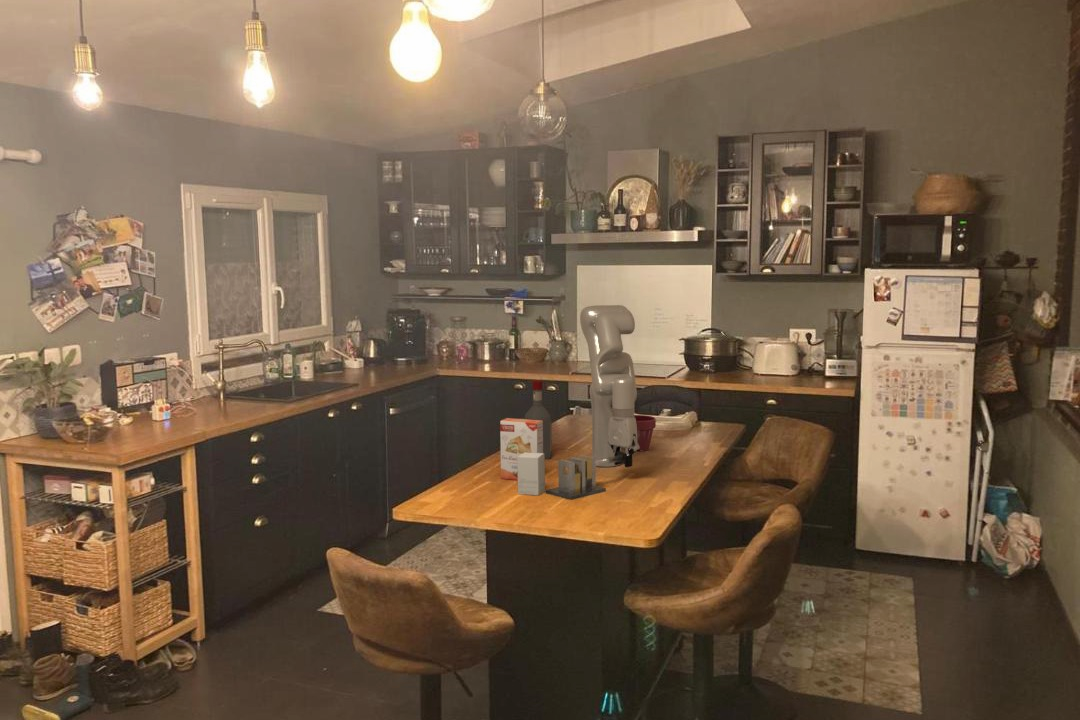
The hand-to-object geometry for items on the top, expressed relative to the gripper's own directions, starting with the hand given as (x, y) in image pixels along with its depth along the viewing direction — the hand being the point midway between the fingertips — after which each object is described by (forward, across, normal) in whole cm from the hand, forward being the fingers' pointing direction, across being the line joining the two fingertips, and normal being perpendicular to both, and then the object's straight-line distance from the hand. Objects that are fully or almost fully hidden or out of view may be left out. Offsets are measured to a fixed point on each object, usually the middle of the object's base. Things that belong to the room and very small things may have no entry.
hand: (623, 464), depth 308 cm
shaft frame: (+5, 0, -24) cm, 24 cm away
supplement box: (+6, -10, -34) cm, 36 cm away
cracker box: (+6, -26, -24) cm, 36 cm away
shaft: (-1, 0, -9) cm, 9 cm away
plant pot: (+5, -31, +43) cm, 53 cm away
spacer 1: (+4, 0, -25) cm, 26 cm away
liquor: (+5, -47, +3) cm, 47 cm away
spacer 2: (+1, 0, -20) cm, 20 cm away
